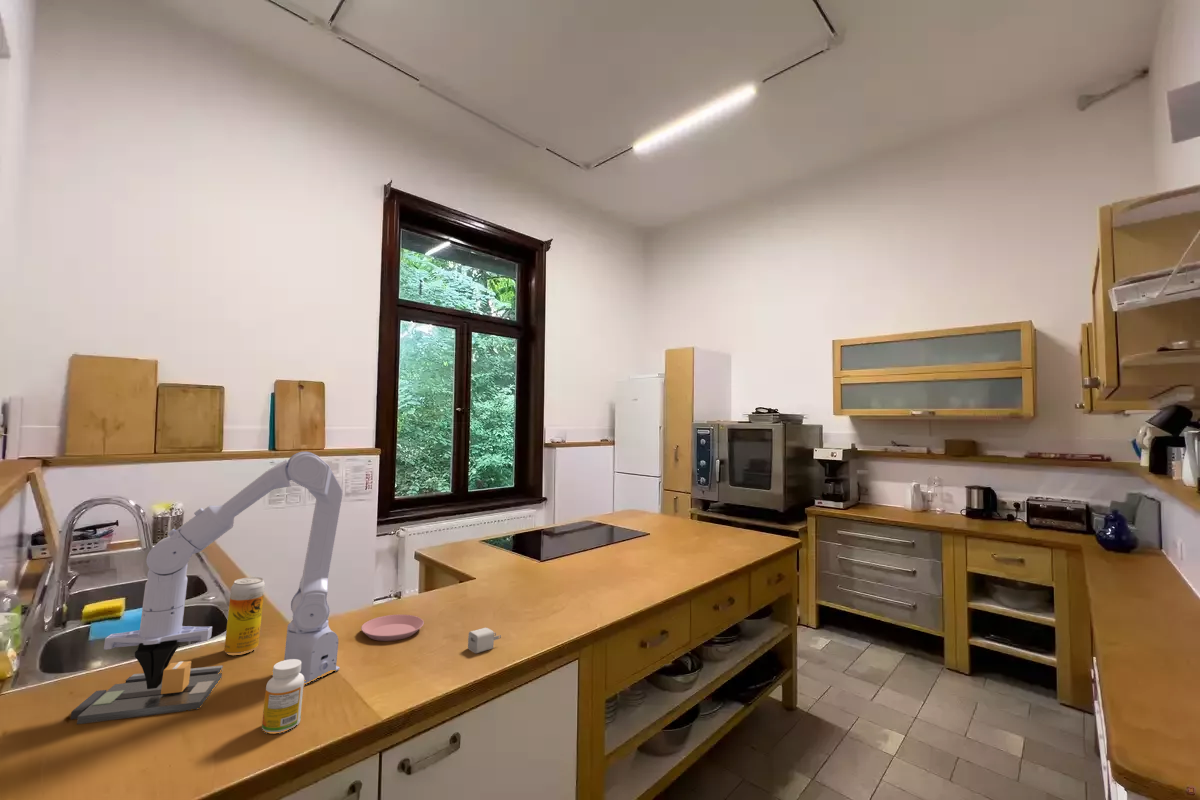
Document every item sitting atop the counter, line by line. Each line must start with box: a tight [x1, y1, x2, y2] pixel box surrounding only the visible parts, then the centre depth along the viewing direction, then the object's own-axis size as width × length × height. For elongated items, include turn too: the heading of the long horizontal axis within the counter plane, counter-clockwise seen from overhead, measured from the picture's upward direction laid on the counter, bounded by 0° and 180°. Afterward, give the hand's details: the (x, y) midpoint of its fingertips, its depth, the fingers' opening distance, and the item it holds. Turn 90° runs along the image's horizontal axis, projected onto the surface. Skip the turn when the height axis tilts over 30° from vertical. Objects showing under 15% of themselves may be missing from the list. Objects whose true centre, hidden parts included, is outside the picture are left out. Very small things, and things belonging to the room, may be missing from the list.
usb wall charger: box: [467, 627, 502, 654], centre depth 115 cm, size 4×7×4 cm, turn 135°
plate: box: [360, 614, 425, 642], centre depth 122 cm, size 14×14×2 cm
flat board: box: [70, 665, 224, 720], centre depth 89 cm, size 17×13×1 cm
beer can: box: [223, 576, 266, 654], centre depth 108 cm, size 6×6×15 cm
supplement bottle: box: [261, 659, 305, 732], centre depth 81 cm, size 5×5×10 cm
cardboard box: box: [161, 660, 192, 694], centre depth 88 cm, size 3×3×4 cm
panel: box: [76, 672, 223, 725], centre depth 87 cm, size 16×11×1 cm
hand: (154, 686), depth 87 cm, fingers closed
